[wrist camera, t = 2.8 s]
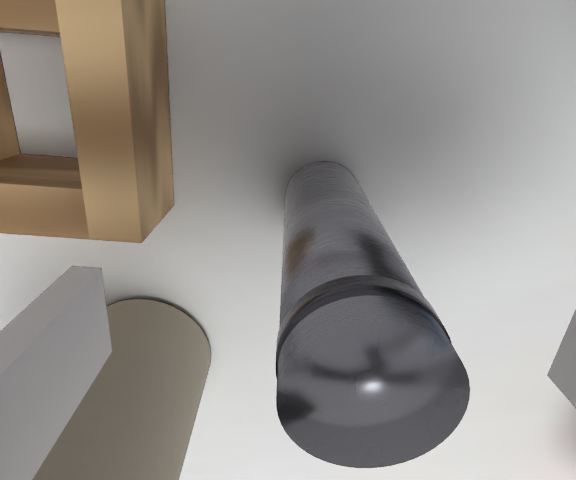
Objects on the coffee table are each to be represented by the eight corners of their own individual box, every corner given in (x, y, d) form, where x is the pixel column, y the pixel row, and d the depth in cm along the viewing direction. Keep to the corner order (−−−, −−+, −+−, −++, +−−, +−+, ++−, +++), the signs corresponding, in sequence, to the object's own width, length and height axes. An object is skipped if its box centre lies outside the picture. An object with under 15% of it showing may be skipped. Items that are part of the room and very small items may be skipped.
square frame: (-68, -31, 17) (-201, -68, 12) (163, -11, 17) (117, -40, 13) (-13, 191, 21) (-99, 226, 16) (173, 205, 21) (141, 242, 17)
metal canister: (287, 157, 20) (280, 314, 7) (366, 163, 20) (497, 328, 7) (282, 230, 22) (268, 464, 9) (354, 236, 22) (445, 474, 9)
